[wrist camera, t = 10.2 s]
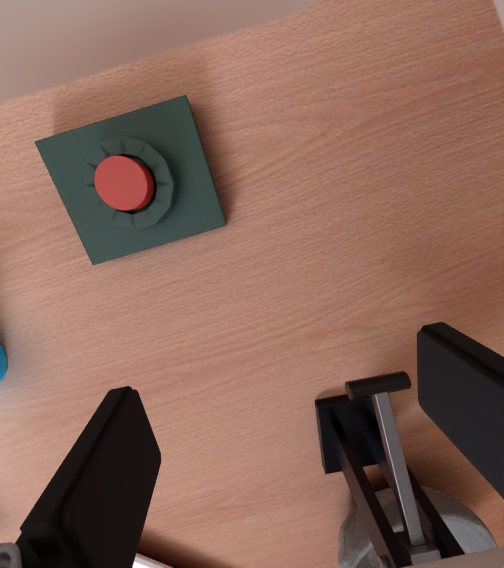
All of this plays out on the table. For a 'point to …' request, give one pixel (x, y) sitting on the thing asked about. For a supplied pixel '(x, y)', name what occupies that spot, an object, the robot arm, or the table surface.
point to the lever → (396, 462)
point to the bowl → (358, 547)
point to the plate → (147, 562)
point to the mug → (2, 362)
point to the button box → (159, 162)
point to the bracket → (350, 459)
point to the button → (123, 183)
